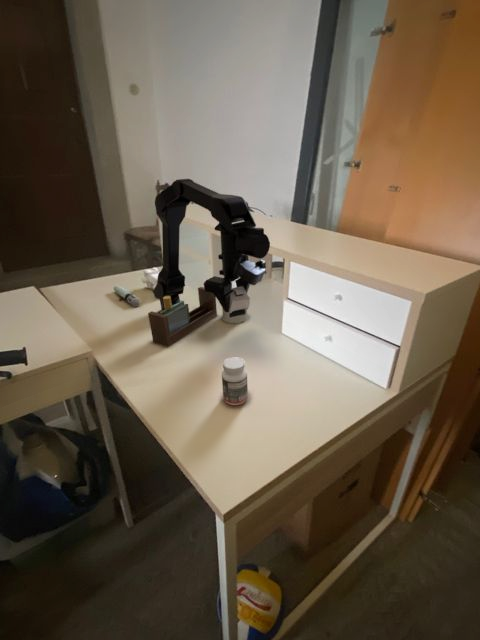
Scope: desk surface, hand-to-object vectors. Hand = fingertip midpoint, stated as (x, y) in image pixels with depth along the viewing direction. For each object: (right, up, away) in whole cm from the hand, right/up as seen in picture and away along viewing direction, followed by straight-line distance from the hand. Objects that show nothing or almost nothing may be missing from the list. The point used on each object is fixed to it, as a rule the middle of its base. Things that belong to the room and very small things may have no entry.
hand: (235, 306), depth 98 cm
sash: (-20, -5, +12) cm, 23 cm away
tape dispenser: (0, -2, +1) cm, 3 cm away
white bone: (-33, +11, +42) cm, 54 cm away
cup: (-2, -1, +22) cm, 22 cm away
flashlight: (-44, +7, +35) cm, 57 cm away
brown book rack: (-16, -5, +15) cm, 23 cm away
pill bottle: (+1, -23, -16) cm, 28 cm away
